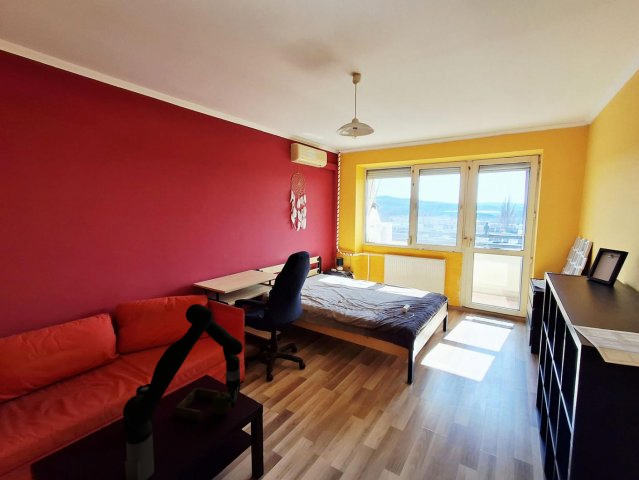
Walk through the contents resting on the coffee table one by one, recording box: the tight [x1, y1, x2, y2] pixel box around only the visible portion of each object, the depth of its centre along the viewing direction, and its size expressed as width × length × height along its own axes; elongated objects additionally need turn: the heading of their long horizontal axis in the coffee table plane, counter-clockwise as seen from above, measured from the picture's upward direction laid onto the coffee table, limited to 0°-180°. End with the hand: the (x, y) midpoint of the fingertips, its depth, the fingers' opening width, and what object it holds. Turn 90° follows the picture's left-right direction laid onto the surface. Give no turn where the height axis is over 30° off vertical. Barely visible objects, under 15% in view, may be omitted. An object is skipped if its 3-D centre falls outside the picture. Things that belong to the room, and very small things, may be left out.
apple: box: [211, 391, 231, 416], centre depth 160 cm, size 10×10×11 cm
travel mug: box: [135, 383, 155, 427], centre depth 149 cm, size 8×8×20 cm
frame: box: [174, 387, 220, 422], centre depth 164 cm, size 18×14×5 cm
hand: (233, 406), depth 159 cm, fingers closed
